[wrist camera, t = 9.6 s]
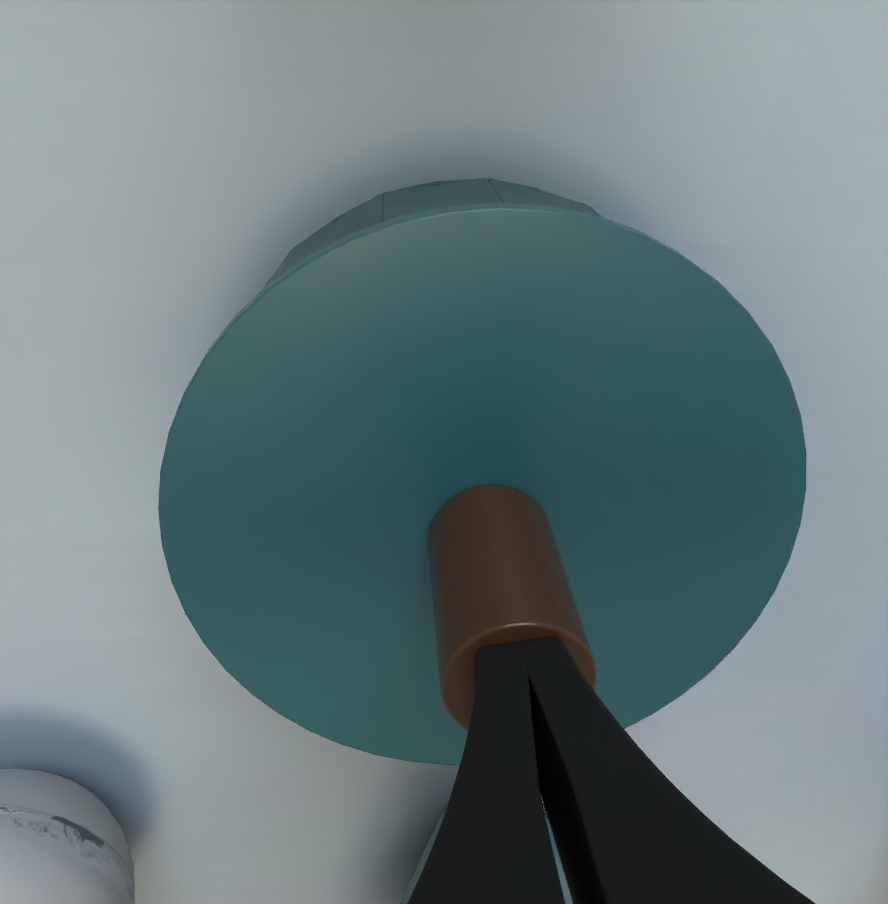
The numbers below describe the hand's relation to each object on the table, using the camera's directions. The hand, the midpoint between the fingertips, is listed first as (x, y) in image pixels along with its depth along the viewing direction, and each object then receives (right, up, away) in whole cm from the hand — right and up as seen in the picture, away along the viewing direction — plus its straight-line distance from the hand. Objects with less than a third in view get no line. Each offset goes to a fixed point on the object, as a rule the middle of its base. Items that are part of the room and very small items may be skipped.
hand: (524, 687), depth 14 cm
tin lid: (0, +2, +4) cm, 5 cm away
